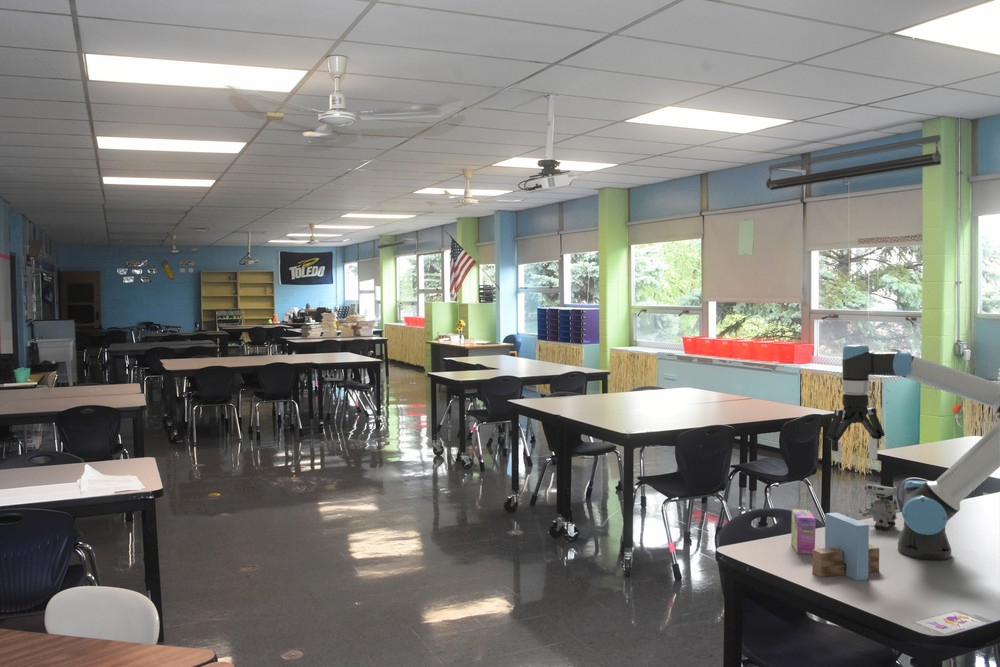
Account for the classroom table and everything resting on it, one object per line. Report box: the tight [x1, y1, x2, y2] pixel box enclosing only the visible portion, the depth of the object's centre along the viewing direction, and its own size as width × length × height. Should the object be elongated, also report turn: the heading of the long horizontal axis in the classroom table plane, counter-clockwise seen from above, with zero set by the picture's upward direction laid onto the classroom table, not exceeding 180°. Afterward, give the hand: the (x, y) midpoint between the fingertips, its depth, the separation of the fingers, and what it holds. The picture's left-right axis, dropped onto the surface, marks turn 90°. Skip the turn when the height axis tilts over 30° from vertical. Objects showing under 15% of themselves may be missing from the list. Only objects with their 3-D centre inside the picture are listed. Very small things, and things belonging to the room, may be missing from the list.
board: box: [824, 512, 870, 581], centre depth 228 cm, size 14×4×16 cm, turn 14°
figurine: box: [857, 483, 899, 532], centre depth 276 cm, size 9×12×15 cm
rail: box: [811, 543, 880, 578], centre depth 228 cm, size 20×4×7 cm, turn 104°
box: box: [790, 508, 817, 555], centre depth 250 cm, size 10×6×12 cm, turn 168°
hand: (855, 460), depth 243 cm, fingers open, 13 cm apart
